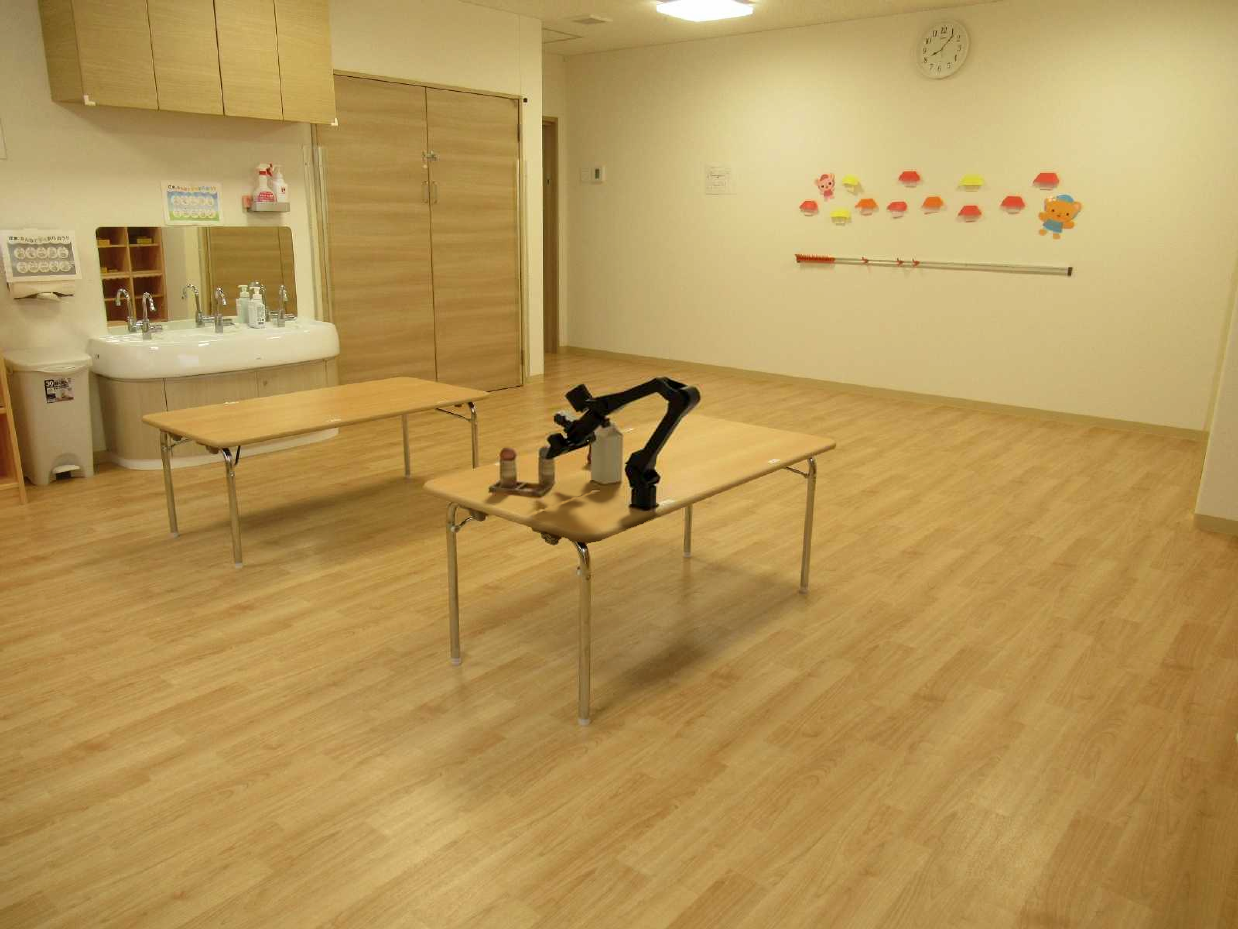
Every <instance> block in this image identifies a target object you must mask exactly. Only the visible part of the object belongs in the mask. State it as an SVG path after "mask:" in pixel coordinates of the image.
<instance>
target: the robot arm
mask: <svg viewBox="0 0 1238 929" xmlns="http://www.w3.org/2000/svg"><path fill="white" fill-rule="evenodd" d="M654 394H658V395H660V396H661V397H662V398H663V399H664V400H665V401H667V403H668V404H667V410H666V413H665V415H664V416H663V417H662V419H661V420H660V423H658V425H657V427H656V428H655V430H654V431H653V433H652V434H651V436H650V438H649V440H647V443H646V444H645V445H644V446H643V448H641V449H638V450H636V451H634V452H632V453H631V454H630V455H629V457H628V460H627V461H626V462H624V464H625V466H624V472H625V476H626V477H627V481H628V484H629V487H630V488H631V490H630V503H629V504H628V507H631V508H634V507H635V508H636V509H639V510H643V511H650V510H652V509H653V508H654V509H655V508H656V507H659V506H660V503H657V488H658V486H657V485H658V484H660V481H661V478H662V476H661V475H660V474H659V473H658V472H657V471H656V469H655V467H656V465H657V459H658V455H659V454H660V452H661V451H662V449H663V448H664V447H665V445H666V443H667V442H668V440H669V439H670V437H671V436H672V434H673V433H674V432H675V430H676V428H677V427H678V425H680V424H679V423H680V422H681V421H682V419H684V418H685V417H686V416H687V415H688V414H689V413H690V412H692V411H693V409H695V408H696V406H698V405H699V403H700V401H701V399H702V396H701V393H700V391H699V389H698V388H697V387H696V386H693V385H687V384H685V383H684V382H680V381H678V380H674V379H671V378H669V377H667V376H665V375H660V376H656V377H654V378H653V379H651V380H649V381H646V382H643V383H641V384H638V385H636V386H634V387H630V388H627V389H626V390H623V391H617V392H613V393H612V392H611V393H609V394H604V395H600V396H594V397H593V395H592V394H591V392H590V391H589V390H588V388H587V386H586V385H585V383H580V384H578V385H577V386H576V387H574V388H572V389H571V390H569V391H568V392H566V394H565V395H564V397H565V399H566V400H567V402H568V403H569V404H570V406H571V407H572V409H574V411H575V413H579V412H580V414H582V416H580V417H579V418H578V417H577V416H576V415H575V414H573V413H571V412H570V411H569V410H567V409H563V410H560V411H558V412H556V413H555V414H554V415H553V423H555V424H557V425H558V426H561V427H562V428H563V430H562V431H563V433H564V434H566V437H564V435H563V434H562V433H561V432H554V433H552V434H549V435H548V437H547V438H546V441H547V443H548V444H549V445H550V448H549V450H548V452H547V455H546V459H547V460H549V459H551V458H554V457H555V458H558V457H560V456H563V455H566V454H568V453H571V452H573V451H576V450H579V449H583V448H585V447H589V445H590V444H592V443H594V442H595V441H596V435H595V432H594V431H595V430H596V429H597V428H598V427H599V426H601V427H602V428H607V427H610V422H611V418H610V417H607V416H609V415H612V414H613V415H614V414H616V413H618V412H620V411H621V410H623V409H624V408H626V407H627V406H628V405H629V404H631V403H634V402H636V401H638V400H640V399H643V398H646V397H649V396H651V395H654Z"/></svg>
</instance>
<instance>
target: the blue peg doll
mask: <svg viewBox="0 0 1238 929" xmlns="http://www.w3.org/2000/svg"><path fill="white" fill-rule="evenodd" d="M549 448H550V446H549V445H543V446H542V447H540V449H539V450H538V458H537V460H538V462H537V463H538V465H537V466H538V468H537V469H538V470H537V471H538V474H537V475H538V477H537V478H538V480H537V483H538V484H547V485H552V486H554V485H555V484H556V481H555V479H556V471H555V470H556V457H554V458H551V459H549V460H547V459H546V455H547V452H548V450H549Z"/></svg>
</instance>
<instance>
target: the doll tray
mask: <svg viewBox="0 0 1238 929" xmlns="http://www.w3.org/2000/svg"><path fill="white" fill-rule="evenodd" d="M551 490H552V485H547V484H538V482H536V483H535V482H528V481H518V480H517V488H516V489H509V488H500V479H499V480H497V481H496V482H494V483H493V484H491V485H490V486H489V487H488V491H489V492H494V493H502V494H512V495H519V496H520V495H521V496H529V497H537V498H538V497H539V498H542V497H543V496H545V495H546V494H547V493H549V492H550V491H551Z"/></svg>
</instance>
